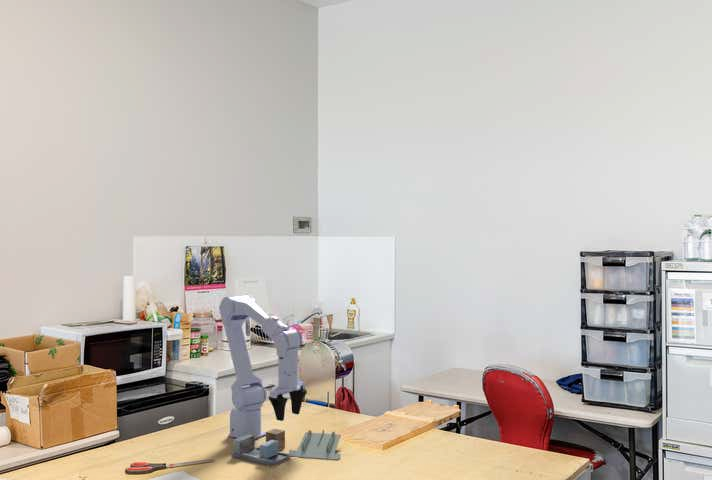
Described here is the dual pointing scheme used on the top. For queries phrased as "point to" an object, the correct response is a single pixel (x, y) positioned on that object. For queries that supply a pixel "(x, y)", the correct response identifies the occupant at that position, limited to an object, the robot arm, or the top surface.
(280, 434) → the block
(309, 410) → the top surface
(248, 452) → the vise
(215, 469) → the top surface
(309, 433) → the metal bracket
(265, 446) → the block
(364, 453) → the top surface
